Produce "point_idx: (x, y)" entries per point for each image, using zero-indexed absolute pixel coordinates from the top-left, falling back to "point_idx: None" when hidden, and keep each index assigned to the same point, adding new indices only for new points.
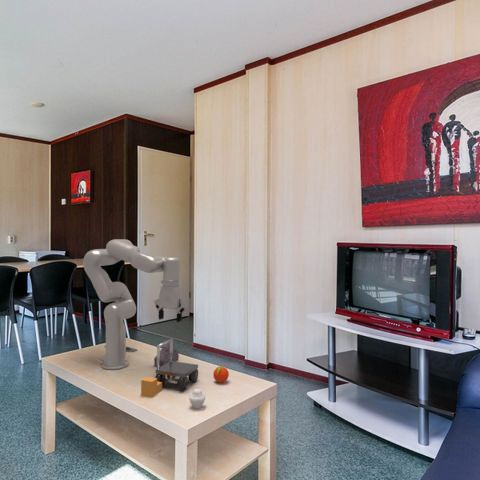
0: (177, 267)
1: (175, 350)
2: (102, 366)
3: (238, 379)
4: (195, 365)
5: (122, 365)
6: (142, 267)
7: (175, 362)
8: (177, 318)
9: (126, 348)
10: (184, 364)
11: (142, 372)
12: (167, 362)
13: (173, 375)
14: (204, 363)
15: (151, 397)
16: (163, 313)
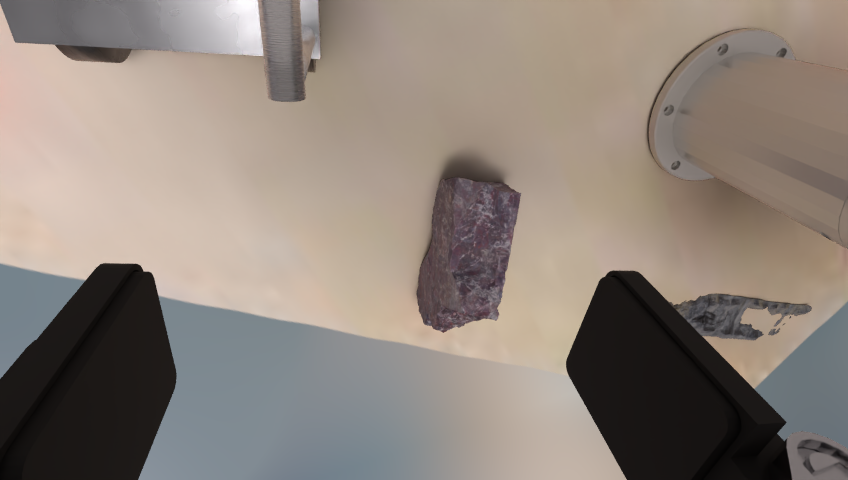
0: None
1: (434, 315)
2: (788, 50)
3: None
4: (17, 9)
5: (679, 92)
6: None
7: (254, 30)
8: (64, 322)
9: (711, 319)
10: (138, 2)
11: (531, 59)
12: (439, 218)
13: None
14: (260, 308)
15: None
16: (617, 447)
